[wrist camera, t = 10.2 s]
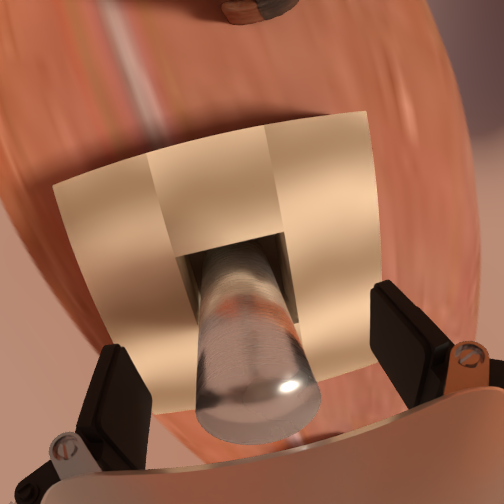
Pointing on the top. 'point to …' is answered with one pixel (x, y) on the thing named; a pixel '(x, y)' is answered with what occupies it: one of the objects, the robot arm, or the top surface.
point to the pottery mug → (255, 10)
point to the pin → (249, 352)
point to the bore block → (232, 241)
